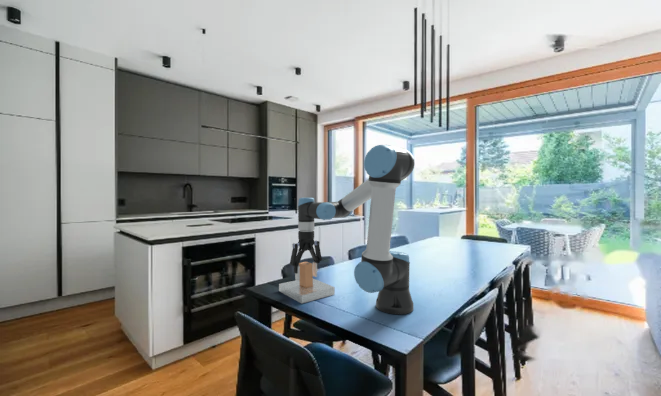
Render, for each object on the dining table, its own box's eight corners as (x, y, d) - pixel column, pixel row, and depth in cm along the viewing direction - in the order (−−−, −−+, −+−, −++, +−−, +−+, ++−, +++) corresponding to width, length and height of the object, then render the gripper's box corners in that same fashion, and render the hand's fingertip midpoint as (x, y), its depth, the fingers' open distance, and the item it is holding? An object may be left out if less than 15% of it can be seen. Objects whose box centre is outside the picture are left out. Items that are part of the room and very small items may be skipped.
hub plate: (334, 294, 138) (334, 286, 138) (301, 303, 127) (301, 295, 127) (310, 283, 154) (310, 277, 154) (279, 291, 143) (279, 283, 142)
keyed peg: (299, 292, 141) (298, 263, 140) (306, 290, 143) (305, 261, 143) (306, 295, 137) (305, 265, 136) (313, 293, 140) (312, 263, 139)
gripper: (320, 227, 149) (320, 272, 150) (281, 231, 136) (281, 280, 136) (329, 229, 143) (329, 275, 144) (290, 233, 130) (290, 284, 130)
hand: (306, 278), depth 140 cm, fingers open, 9 cm apart
